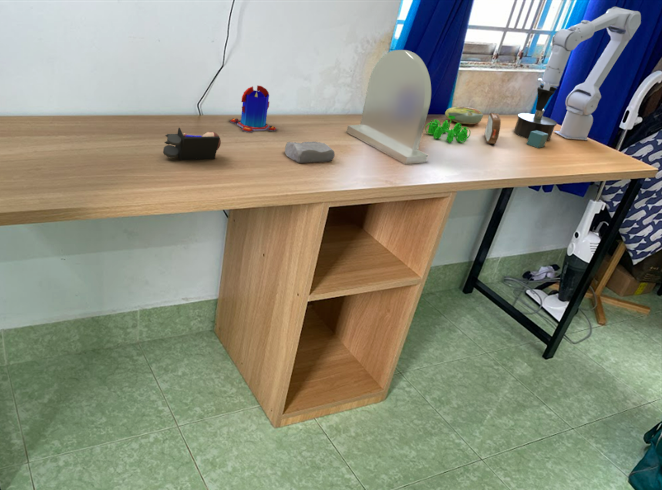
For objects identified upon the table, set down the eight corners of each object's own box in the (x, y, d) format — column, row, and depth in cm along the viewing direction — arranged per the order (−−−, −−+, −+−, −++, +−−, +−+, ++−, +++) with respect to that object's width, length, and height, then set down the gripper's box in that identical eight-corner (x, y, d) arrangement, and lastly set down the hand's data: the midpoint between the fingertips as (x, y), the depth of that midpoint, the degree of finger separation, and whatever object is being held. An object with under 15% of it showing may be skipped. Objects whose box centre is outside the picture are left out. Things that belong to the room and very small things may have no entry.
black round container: (537, 130, 229) (542, 116, 226) (556, 142, 219) (562, 127, 216) (507, 128, 226) (512, 113, 223) (525, 139, 216) (531, 124, 213)
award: (427, 162, 180) (453, 63, 165) (405, 164, 175) (430, 63, 160) (367, 131, 199) (386, 40, 184) (346, 132, 194) (363, 39, 179)
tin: (495, 147, 202) (503, 122, 198) (485, 145, 203) (493, 120, 198) (491, 135, 215) (498, 111, 211) (482, 133, 215) (489, 109, 211)
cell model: (437, 110, 225) (471, 95, 228) (441, 130, 228) (474, 116, 231) (455, 113, 215) (490, 97, 218) (459, 134, 219) (493, 119, 222)
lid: (542, 117, 227) (546, 105, 225) (563, 129, 216) (568, 116, 214) (510, 115, 224) (514, 102, 221) (529, 126, 213) (534, 113, 210)
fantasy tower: (244, 132, 180) (249, 91, 174) (227, 120, 188) (230, 80, 182) (279, 131, 186) (284, 90, 179) (260, 119, 194) (265, 80, 188)
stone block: (280, 158, 170) (298, 163, 162) (281, 140, 169) (299, 145, 161) (316, 157, 176) (335, 163, 168) (318, 140, 174) (337, 145, 166)
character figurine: (160, 155, 156) (215, 154, 162) (168, 163, 150) (225, 162, 157) (160, 124, 152) (217, 124, 159) (168, 131, 147) (227, 131, 153)
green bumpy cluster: (451, 147, 196) (457, 125, 192) (414, 132, 205) (420, 111, 201) (477, 142, 205) (483, 121, 201) (440, 128, 214) (446, 108, 210)
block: (532, 142, 214) (537, 130, 212) (544, 146, 211) (548, 134, 209) (526, 144, 211) (530, 131, 209) (537, 148, 209) (542, 135, 206)
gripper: (545, 63, 214) (530, 102, 221) (540, 67, 203) (525, 108, 210) (565, 68, 212) (550, 107, 219) (562, 72, 200) (546, 114, 207)
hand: (539, 108), depth 214 cm, fingers open, 7 cm apart
